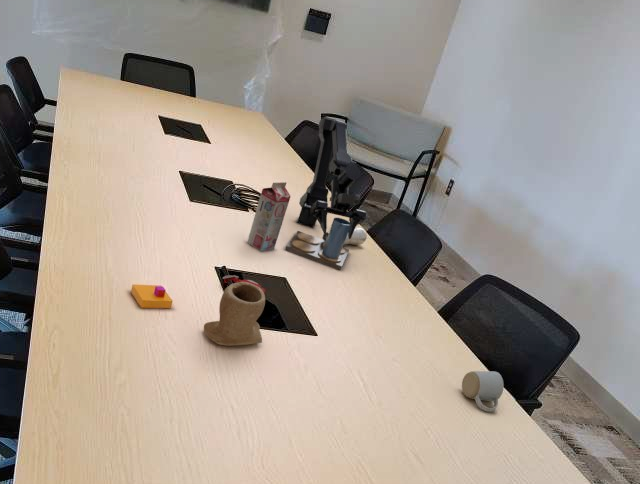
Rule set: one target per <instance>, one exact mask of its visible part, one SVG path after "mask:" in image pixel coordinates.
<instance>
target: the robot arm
mask: <svg viewBox="0 0 640 484" xmlns="http://www.w3.org/2000/svg"><path fill="white" fill-rule="evenodd" d="M347 129H348V124H347V123H346V122H345V121H342V120H341V119H337V118H335V117H330V116H324V117H323V118H320V120H319V122H318V137H319V139H320V147H319V150H318V155H317V160H316V165H315V169H314V173H313V174H314V175H313V178H312V182H311V183H310V185H309V186H307V187H306V191H305V192H304V193H303V194H302V196H301V197H300V199H299V202H298V203H299V206H300V207H301V209H300V212H299V215H298V217H297V220H296V223H297V224H300V225H302V226H305V227H308V228H311V229H312V228H313V227H314V226H316V225H317V222H318V224H319V226H320V228H321V231H322V233H323V234H325V233H326V232H327V228H328V227H327V226H328V223H327V222H328V214H330V215H331V214H332V215H336V216H340V217H343V218H347V219H348V221H349V222H350V223H351V226H350V228H349V231H348V238H349V239H351V237H352V234H353V232H354V230H355V228H357V226H359V225H361V224H362V223H364V222H365V221H366V220H367V218H368V214H367V211H365V210H361V209H357V208H356V209H355V210H354V211H348V210H350V209H351V207H352V206H353V207H354V206H355V205H356V206H358V205H360V203H361V194H357V193H354V194H350V193H349V188H351V187H353V186H354V184H356V183H357V182H358V180H359V179H360V178H361V177H362V171H361V169H360V168H359V167H358V165H357V162H356V161H353V159H352V157H351V156H350V155H349V153H348V142H347ZM332 155H333V156H332ZM331 158H332V159H331ZM328 172H329V174H330V175H333V176H335V177H333V179H331V182H330V184H329V186H331V193H330V197H329V201H328V195H329V188H327V186H326V182H327V177H328ZM328 202H330V206H329V203H328Z"/></svg>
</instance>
